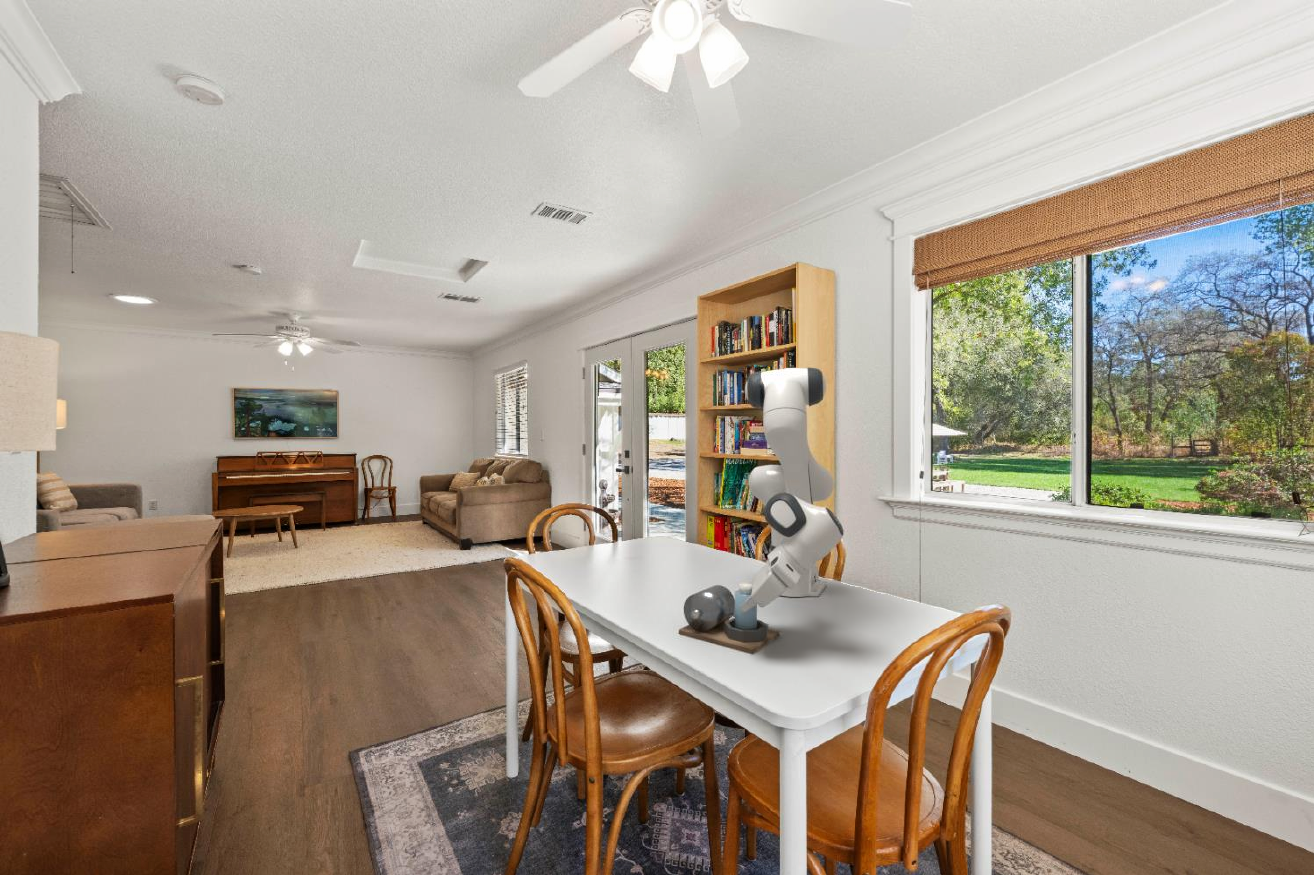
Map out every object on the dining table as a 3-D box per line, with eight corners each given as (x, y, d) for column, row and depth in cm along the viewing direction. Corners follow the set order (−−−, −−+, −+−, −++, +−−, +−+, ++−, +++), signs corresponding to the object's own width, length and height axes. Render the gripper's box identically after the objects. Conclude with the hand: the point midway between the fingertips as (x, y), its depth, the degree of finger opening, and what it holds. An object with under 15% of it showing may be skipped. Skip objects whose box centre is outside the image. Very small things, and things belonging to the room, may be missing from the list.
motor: (705, 616, 145) (705, 582, 145) (735, 624, 139) (735, 588, 139) (678, 629, 135) (679, 592, 135) (710, 638, 130) (710, 599, 130)
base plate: (709, 618, 146) (709, 614, 146) (779, 635, 134) (779, 631, 134) (678, 633, 135) (678, 629, 135) (752, 654, 123) (752, 649, 123)
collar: (737, 625, 138) (738, 615, 138) (771, 633, 133) (771, 623, 133) (718, 636, 131) (719, 625, 131) (753, 645, 125) (754, 634, 125)
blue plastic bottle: (741, 629, 136) (741, 580, 135) (760, 633, 132) (760, 583, 132) (730, 635, 132) (730, 585, 131) (750, 640, 128) (750, 589, 128)
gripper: (776, 545, 140) (737, 581, 143) (775, 565, 120) (730, 606, 123) (794, 564, 139) (754, 600, 142) (796, 586, 119) (750, 628, 122)
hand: (743, 603), depth 132 cm, fingers open, 7 cm apart
